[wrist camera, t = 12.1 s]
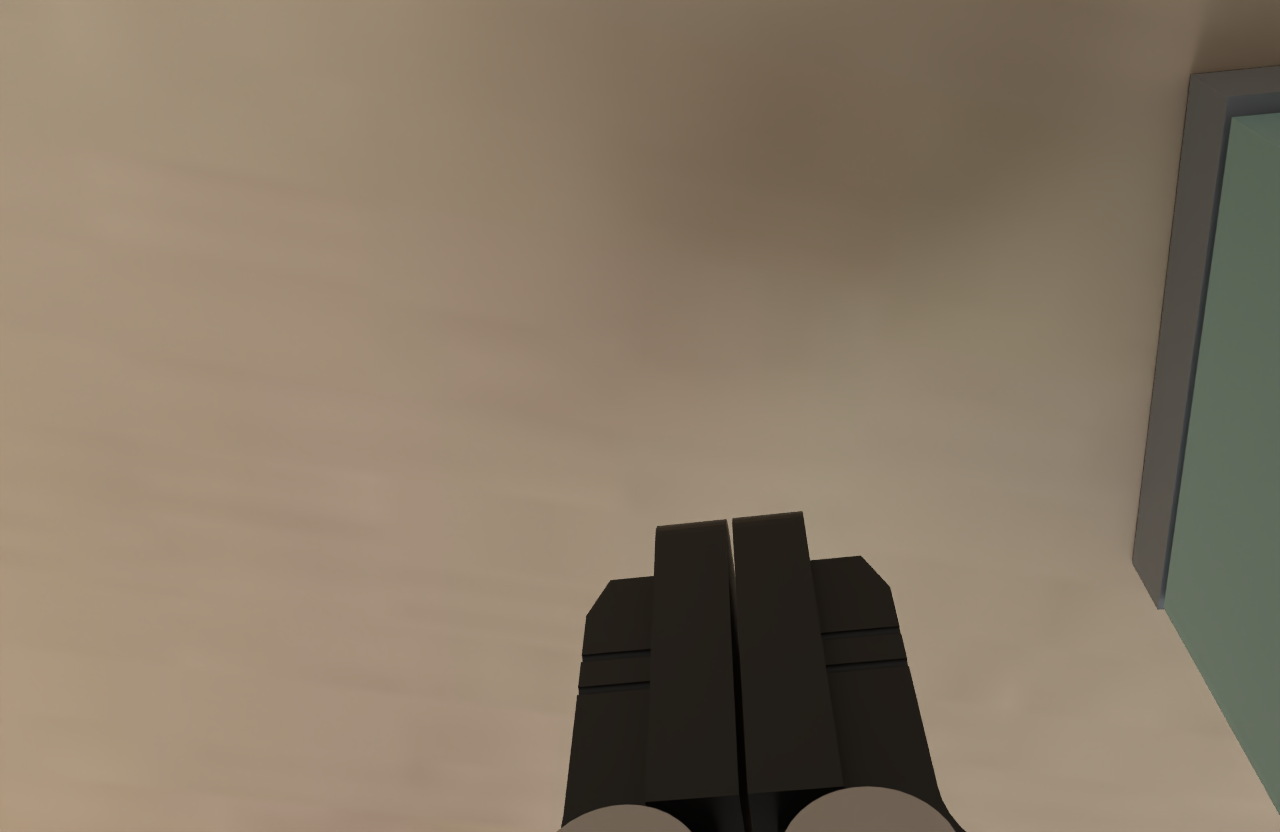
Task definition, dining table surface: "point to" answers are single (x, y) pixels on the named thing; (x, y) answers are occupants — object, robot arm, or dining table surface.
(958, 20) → the dining table surface
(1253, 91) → the rail
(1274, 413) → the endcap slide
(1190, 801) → the dining table surface
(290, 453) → the dining table surface
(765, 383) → the dining table surface
